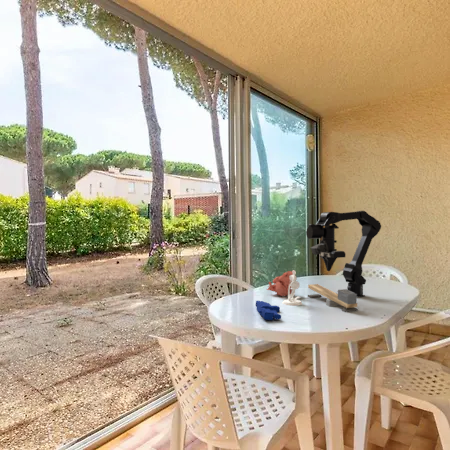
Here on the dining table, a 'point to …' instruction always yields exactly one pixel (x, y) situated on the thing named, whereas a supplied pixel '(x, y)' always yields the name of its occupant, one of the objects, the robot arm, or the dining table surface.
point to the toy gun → (268, 310)
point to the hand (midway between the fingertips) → (328, 270)
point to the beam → (329, 295)
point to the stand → (334, 303)
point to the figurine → (294, 286)
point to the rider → (347, 296)
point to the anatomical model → (281, 284)
